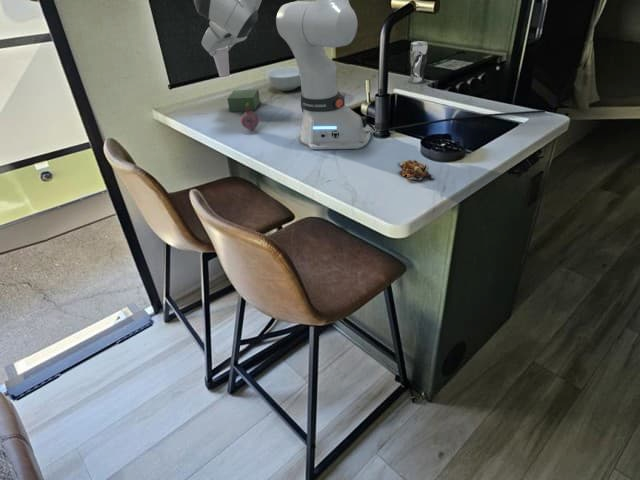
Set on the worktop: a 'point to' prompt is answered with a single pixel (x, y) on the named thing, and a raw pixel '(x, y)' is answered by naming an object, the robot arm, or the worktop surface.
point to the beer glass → (418, 61)
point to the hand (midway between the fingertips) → (218, 51)
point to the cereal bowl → (284, 78)
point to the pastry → (414, 169)
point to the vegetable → (249, 119)
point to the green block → (243, 100)
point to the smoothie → (222, 61)
